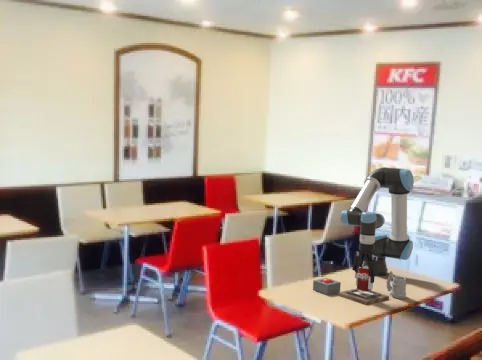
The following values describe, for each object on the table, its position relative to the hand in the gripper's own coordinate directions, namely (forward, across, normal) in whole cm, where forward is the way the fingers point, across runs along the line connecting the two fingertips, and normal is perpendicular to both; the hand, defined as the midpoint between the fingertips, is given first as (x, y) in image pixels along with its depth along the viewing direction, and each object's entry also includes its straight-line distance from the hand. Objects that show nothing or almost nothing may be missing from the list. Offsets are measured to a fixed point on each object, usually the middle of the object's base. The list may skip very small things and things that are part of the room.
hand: (364, 286), depth 299 cm
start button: (+4, -18, -8) cm, 20 cm away
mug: (+6, +7, +17) cm, 19 cm away
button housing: (+5, -18, -8) cm, 20 cm away
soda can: (+2, 0, 0) cm, 2 cm away
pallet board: (+5, 0, 0) cm, 5 cm away
